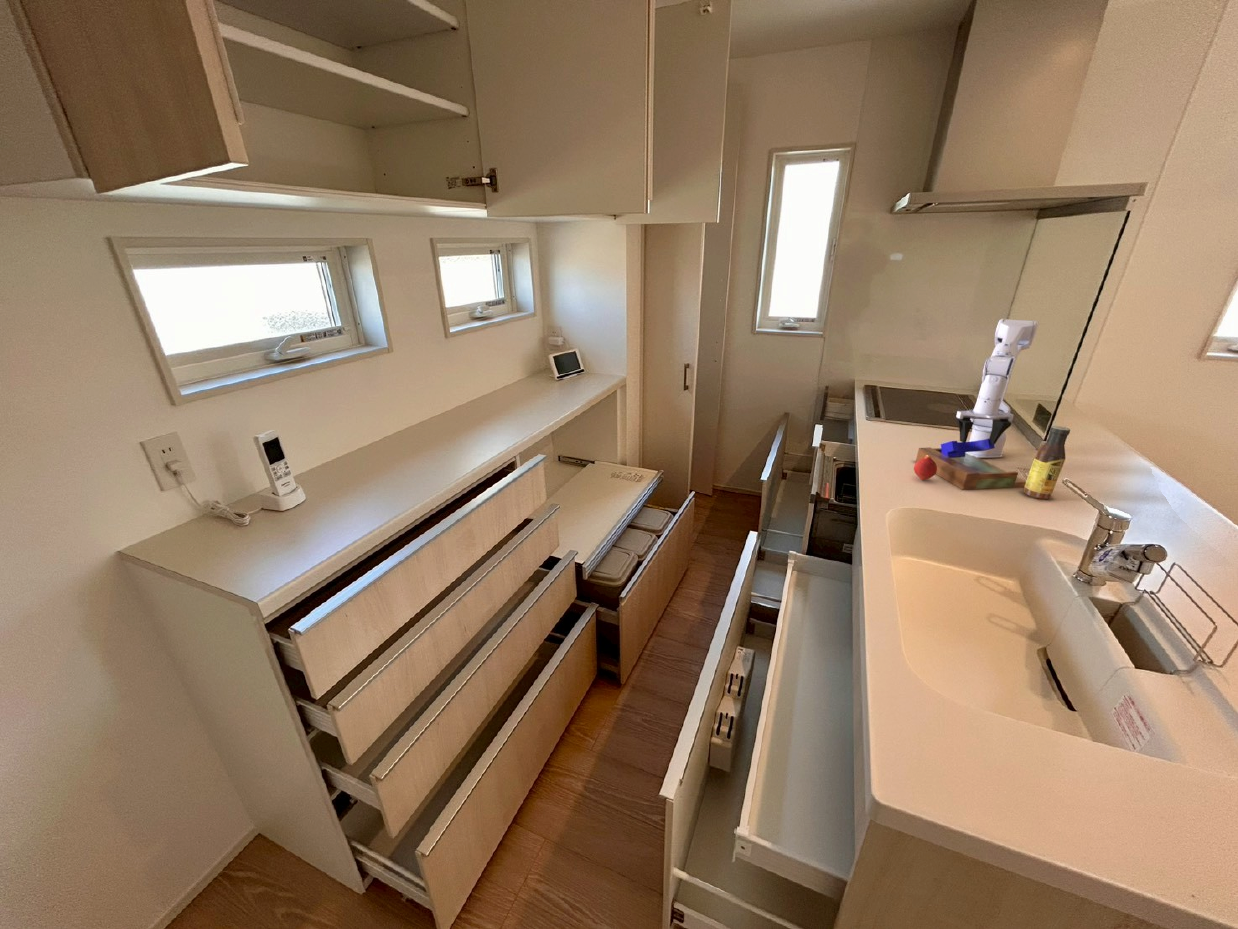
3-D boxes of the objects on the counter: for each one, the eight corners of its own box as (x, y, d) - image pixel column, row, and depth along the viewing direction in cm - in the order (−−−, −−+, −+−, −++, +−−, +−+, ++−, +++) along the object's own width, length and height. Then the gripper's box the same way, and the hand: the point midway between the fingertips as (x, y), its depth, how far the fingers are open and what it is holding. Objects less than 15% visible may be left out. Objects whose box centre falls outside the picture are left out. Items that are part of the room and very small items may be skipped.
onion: (931, 477, 151) (937, 453, 148) (935, 485, 146) (942, 459, 143) (909, 475, 153) (915, 450, 150) (913, 482, 148) (919, 457, 145)
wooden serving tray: (972, 459, 164) (976, 445, 162) (1026, 486, 145) (1031, 470, 143) (915, 462, 162) (918, 447, 160) (962, 489, 143) (967, 473, 141)
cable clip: (942, 458, 156) (954, 455, 150) (940, 444, 156) (952, 441, 150) (982, 455, 155) (995, 453, 149) (980, 441, 156) (993, 438, 150)
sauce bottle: (1043, 502, 136) (1068, 433, 128) (1017, 493, 141) (1040, 426, 133) (1055, 497, 138) (1080, 429, 131) (1029, 488, 144) (1052, 423, 136)
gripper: (970, 400, 142) (958, 445, 147) (1025, 402, 140) (1010, 447, 145) (957, 394, 148) (946, 438, 153) (1010, 396, 147) (996, 440, 152)
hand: (976, 442), depth 150 cm, fingers open, 7 cm apart
